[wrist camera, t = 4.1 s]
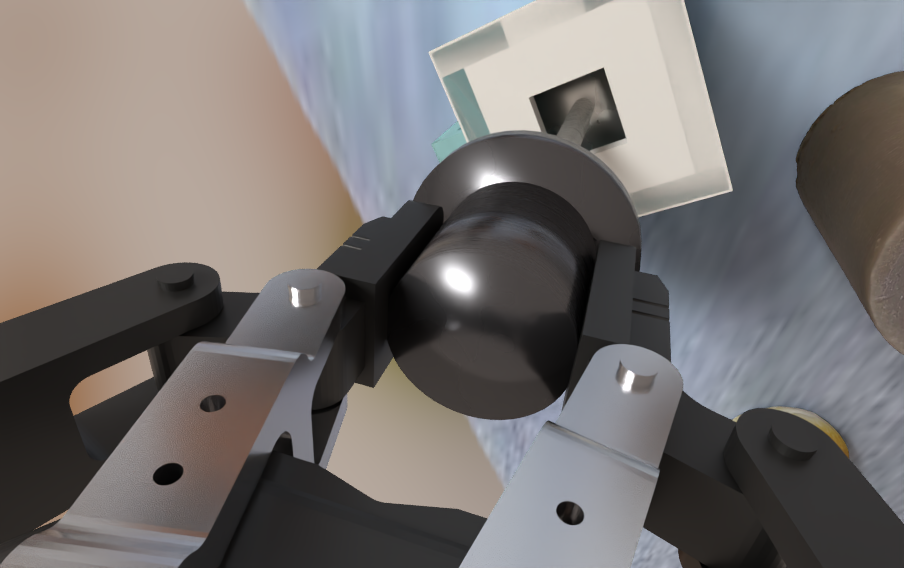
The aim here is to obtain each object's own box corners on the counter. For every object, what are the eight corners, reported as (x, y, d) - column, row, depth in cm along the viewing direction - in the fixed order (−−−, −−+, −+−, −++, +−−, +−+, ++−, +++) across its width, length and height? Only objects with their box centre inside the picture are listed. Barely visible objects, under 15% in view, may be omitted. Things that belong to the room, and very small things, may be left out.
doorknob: (676, 146, 24) (706, 455, 10) (543, 189, 27) (406, 483, 12) (635, 2, 22) (591, 115, 7) (495, 64, 25) (259, 237, 10)
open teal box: (707, 106, 34) (733, 190, 22) (526, 168, 39) (470, 263, 27) (663, -61, 30) (667, -64, 19) (472, 31, 35) (383, 73, 24)
